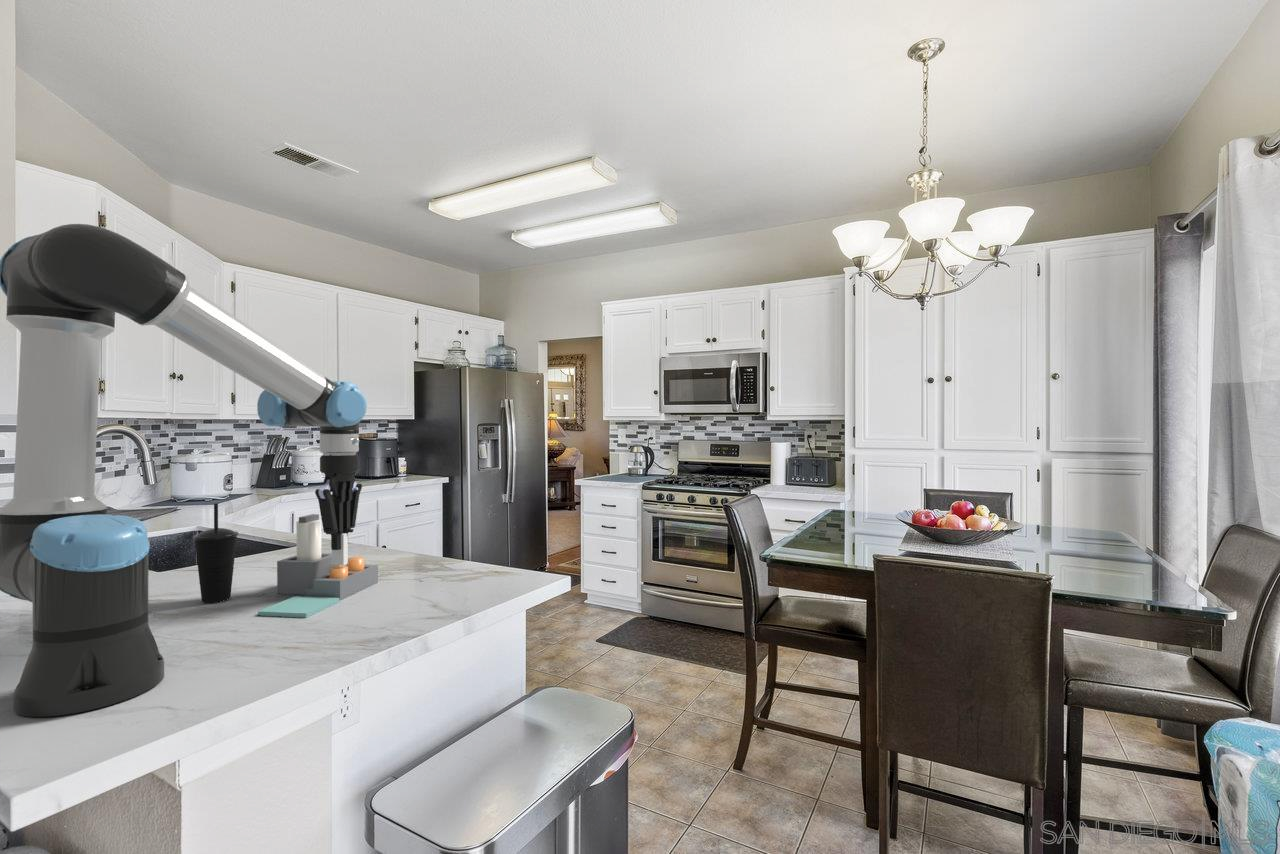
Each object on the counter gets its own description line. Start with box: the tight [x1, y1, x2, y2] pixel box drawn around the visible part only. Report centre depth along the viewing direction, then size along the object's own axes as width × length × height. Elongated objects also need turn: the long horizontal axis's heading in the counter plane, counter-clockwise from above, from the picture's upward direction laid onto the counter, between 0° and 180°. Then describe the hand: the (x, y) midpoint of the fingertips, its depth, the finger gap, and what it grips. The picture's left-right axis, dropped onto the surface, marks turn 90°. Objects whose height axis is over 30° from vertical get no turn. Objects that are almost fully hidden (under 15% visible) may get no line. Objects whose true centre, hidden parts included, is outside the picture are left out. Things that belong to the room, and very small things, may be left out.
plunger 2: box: [345, 556, 365, 572], centre depth 134 cm, size 4×4×5 cm
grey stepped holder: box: [276, 552, 379, 601], centre depth 131 cm, size 14×16×7 cm
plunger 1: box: [329, 565, 348, 579], centre depth 128 cm, size 4×4×5 cm
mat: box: [257, 595, 340, 619], centre depth 118 cm, size 10×10×1 cm
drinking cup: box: [192, 502, 239, 604], centre depth 123 cm, size 8×8×20 cm
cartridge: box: [295, 513, 322, 561], centre depth 132 cm, size 5×5×16 cm
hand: (339, 563), depth 128 cm, fingers closed
